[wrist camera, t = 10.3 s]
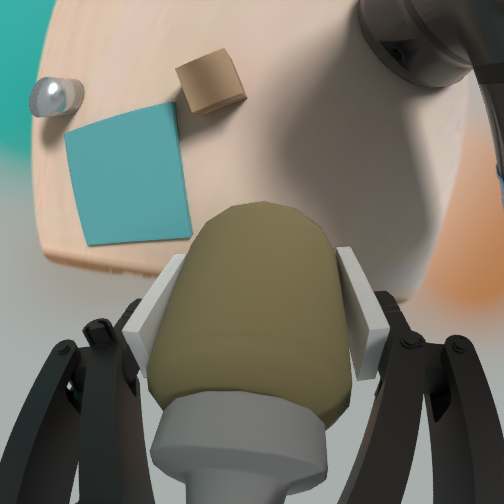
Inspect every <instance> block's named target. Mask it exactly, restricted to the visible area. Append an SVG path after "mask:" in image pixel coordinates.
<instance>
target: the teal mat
mask: <svg viewBox="0 0 504 504" xmlns="http://www.w3.org/2000/svg"><path fill="white" fill-rule="evenodd" d="M64 138H65V145H66V152H67V159H68V165H69V171H70V176H71V181H72V186H73V191H74V196H75V201H76V205H77V209H78V213H79V217H80V221H81V225H82V229H83V232H84V236H85V240H86V243H87V245H96V244H108V243H120V242H133V241H146V240H160V239H174V238H189V237H191V236H192V235H193V232H192V226H191V220H190V214H189V208H188V201H187V195H186V188H185V181H184V174H183V167H182V160H181V152H180V144H179V136H178V127H177V118H176V108H175V102H168V103H164V104H159V105H155V106H151V107H147V108H143V109H139V110H135V111H131V112H128V113H124V114H121V115H117V116H114V117H111V118H107V119H104V120H101V121H98V122H95V123H92V124H89V125H86V126H84V127H81V128H78V129H75V130H73V131H70V132H68V133H65V134H64Z"/></svg>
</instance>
